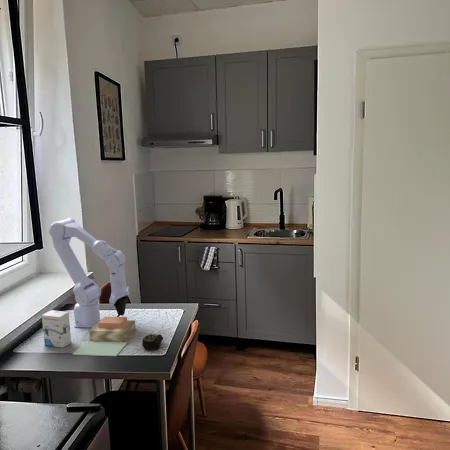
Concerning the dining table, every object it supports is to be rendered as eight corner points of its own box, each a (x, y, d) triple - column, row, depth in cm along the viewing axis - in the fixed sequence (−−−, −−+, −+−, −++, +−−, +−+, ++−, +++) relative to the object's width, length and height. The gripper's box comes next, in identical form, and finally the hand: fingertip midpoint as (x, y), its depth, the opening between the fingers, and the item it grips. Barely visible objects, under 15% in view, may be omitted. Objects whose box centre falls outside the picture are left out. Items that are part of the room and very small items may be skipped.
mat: (72, 354, 144) (72, 354, 144) (86, 341, 153) (86, 341, 153) (116, 356, 141) (116, 355, 141) (127, 343, 151) (127, 342, 151)
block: (98, 327, 156) (97, 322, 155) (105, 321, 161) (104, 316, 161) (121, 328, 154) (120, 323, 154) (127, 321, 160) (126, 316, 160)
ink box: (44, 345, 152) (40, 315, 150) (53, 339, 157) (50, 309, 155) (63, 348, 149) (59, 317, 147) (72, 341, 154) (69, 311, 152)
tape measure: (159, 351, 143) (159, 341, 143) (140, 352, 144) (139, 342, 143) (163, 342, 150) (162, 333, 150) (144, 343, 150) (144, 333, 150)
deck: (90, 340, 154) (89, 330, 154) (102, 329, 164) (101, 319, 163) (125, 341, 152) (124, 331, 151) (135, 330, 162) (135, 320, 161)
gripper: (120, 288, 155) (123, 322, 158) (134, 276, 169) (137, 308, 172) (102, 288, 156) (106, 322, 159) (118, 276, 171) (121, 307, 173)
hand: (121, 314), depth 165 cm, fingers closed
